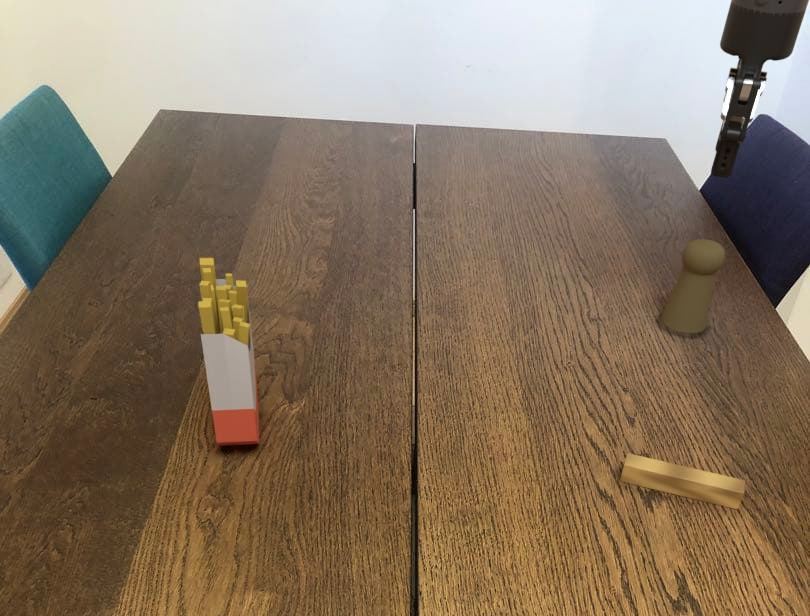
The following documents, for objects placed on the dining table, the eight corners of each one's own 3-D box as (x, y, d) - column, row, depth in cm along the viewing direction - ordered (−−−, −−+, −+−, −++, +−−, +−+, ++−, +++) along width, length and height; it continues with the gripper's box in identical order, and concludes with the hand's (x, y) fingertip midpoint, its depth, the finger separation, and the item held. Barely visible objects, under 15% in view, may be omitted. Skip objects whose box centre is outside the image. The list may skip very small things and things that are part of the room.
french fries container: (262, 400, 93) (247, 248, 81) (263, 459, 86) (247, 301, 73) (221, 402, 93) (200, 249, 80) (218, 461, 85) (195, 302, 73)
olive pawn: (692, 338, 108) (718, 258, 100) (652, 321, 111) (674, 242, 103) (714, 322, 111) (740, 244, 103) (674, 306, 114) (697, 229, 106)
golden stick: (738, 496, 84) (745, 480, 83) (737, 509, 83) (744, 493, 81) (622, 469, 87) (627, 452, 85) (619, 481, 85) (624, 464, 84)
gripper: (808, 19, 79) (753, 190, 90) (806, -8, 89) (756, 149, 100) (728, 10, 81) (684, 179, 92) (735, -15, 90) (694, 140, 102)
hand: (721, 163), depth 96 cm, fingers open, 8 cm apart
